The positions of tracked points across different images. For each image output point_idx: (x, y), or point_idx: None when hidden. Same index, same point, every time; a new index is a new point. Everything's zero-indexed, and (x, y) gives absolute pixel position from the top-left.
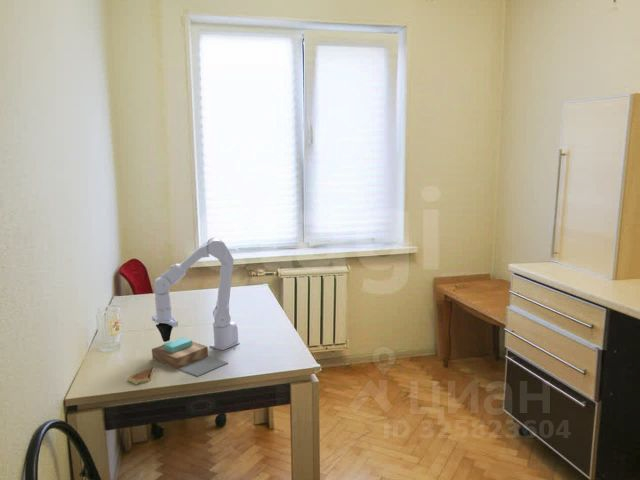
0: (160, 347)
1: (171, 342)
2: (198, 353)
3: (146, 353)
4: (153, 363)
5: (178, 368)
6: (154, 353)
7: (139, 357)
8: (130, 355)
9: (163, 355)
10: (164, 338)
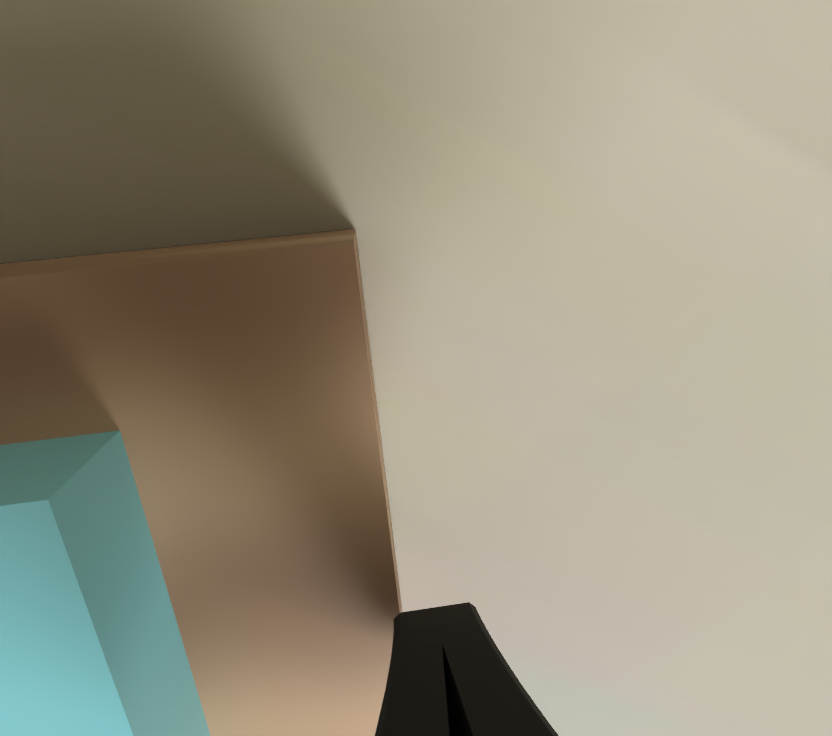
0: (287, 432)
1: (33, 698)
2: None
3: (654, 275)
4: (137, 132)
5: None
6: (258, 245)
7: (602, 101)
8: (818, 34)
9: None
10: (386, 686)
